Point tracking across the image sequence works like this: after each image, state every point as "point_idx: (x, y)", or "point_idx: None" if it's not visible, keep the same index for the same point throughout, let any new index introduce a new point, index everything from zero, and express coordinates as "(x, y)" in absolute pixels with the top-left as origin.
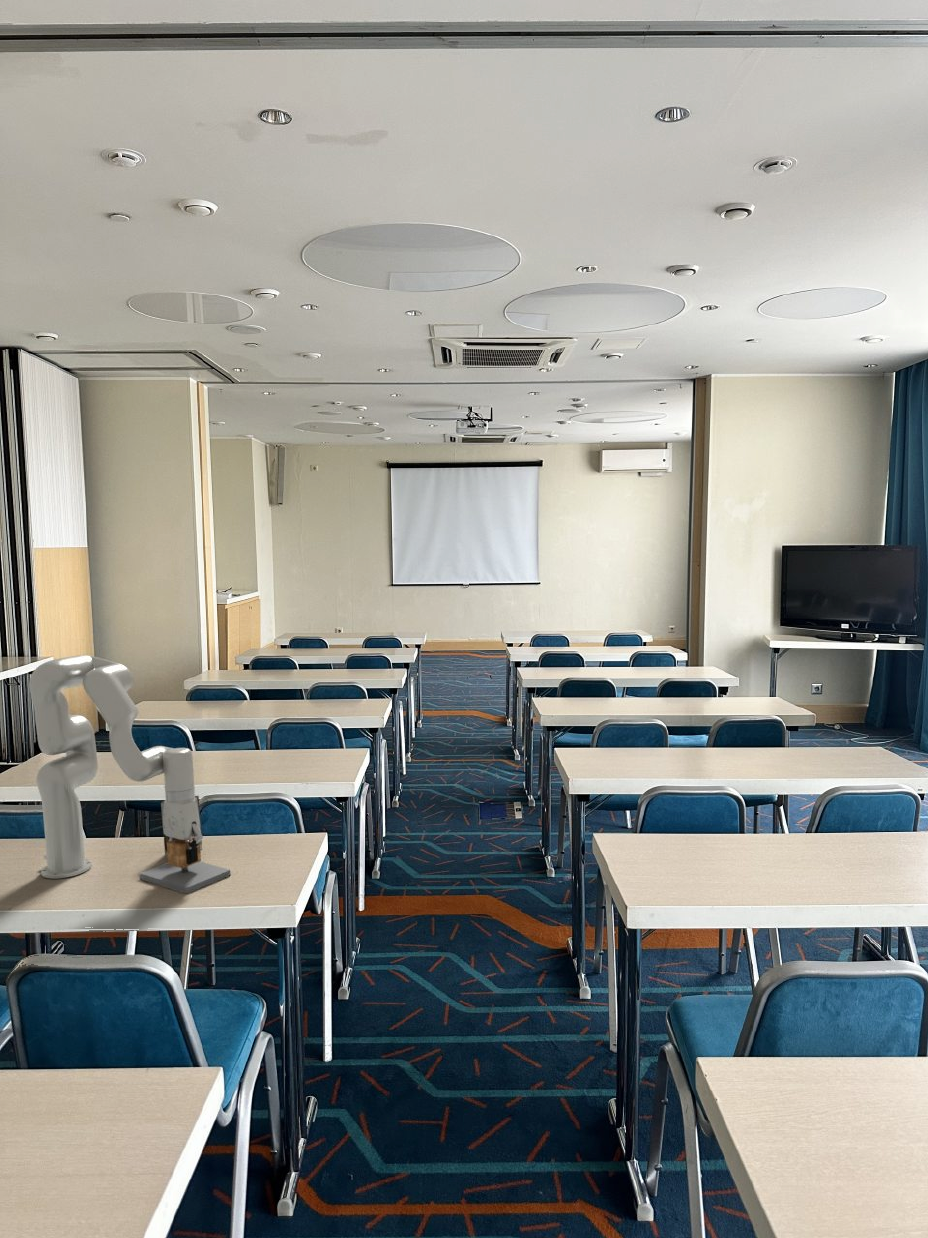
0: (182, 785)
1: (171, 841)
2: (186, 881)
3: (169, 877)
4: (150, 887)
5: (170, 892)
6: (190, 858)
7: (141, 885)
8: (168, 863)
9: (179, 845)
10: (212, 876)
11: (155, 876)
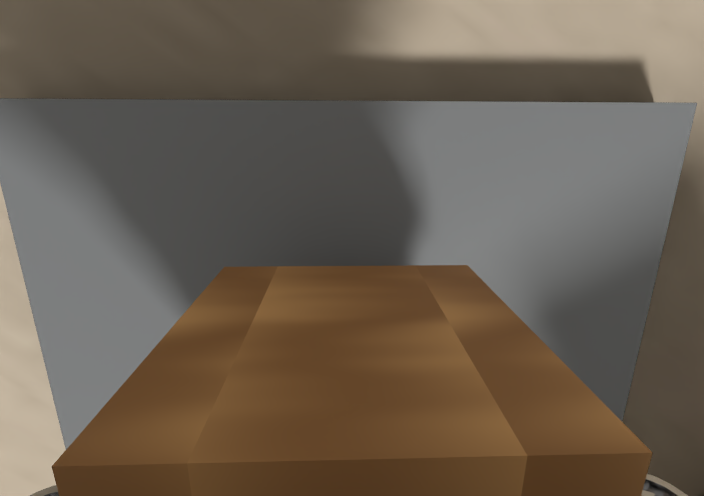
0: None
1: None
2: (133, 200)
3: (352, 180)
4: (422, 29)
5: (170, 50)
6: None
7: (533, 16)
8: (465, 268)
9: (140, 485)
10: (58, 371)
11: (492, 129)
